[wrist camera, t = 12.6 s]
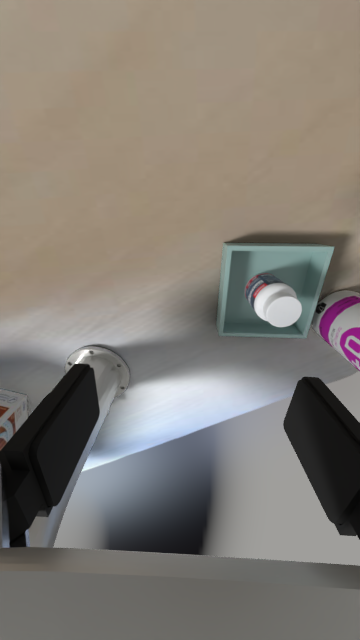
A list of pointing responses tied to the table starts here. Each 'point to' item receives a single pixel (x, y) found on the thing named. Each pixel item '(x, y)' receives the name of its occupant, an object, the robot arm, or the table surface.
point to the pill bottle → (273, 300)
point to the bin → (281, 261)
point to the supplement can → (340, 323)
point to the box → (11, 414)
